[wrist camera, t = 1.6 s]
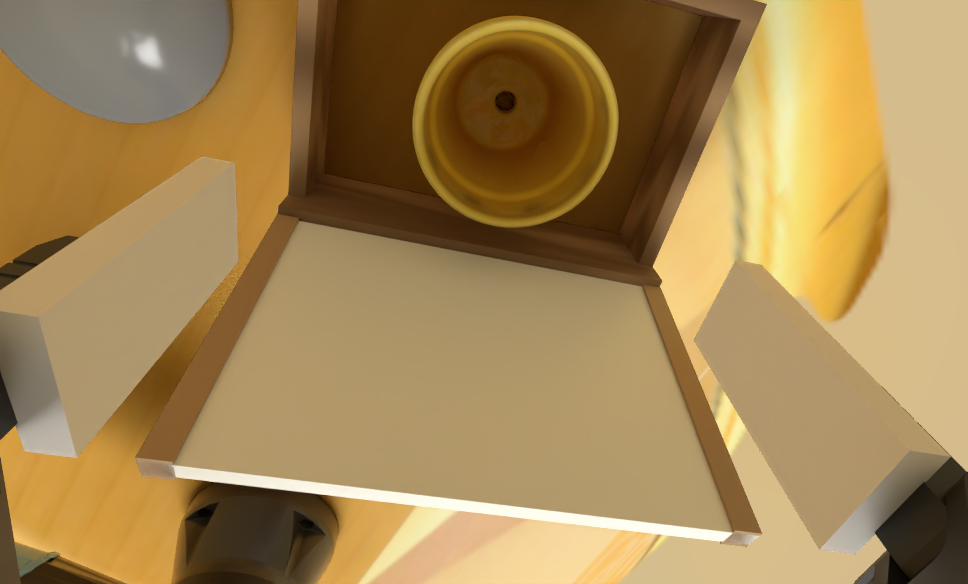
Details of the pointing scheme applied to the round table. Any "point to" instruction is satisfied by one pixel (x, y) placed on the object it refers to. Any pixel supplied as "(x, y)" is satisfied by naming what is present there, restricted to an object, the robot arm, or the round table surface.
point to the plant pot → (515, 121)
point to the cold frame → (539, 245)
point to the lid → (451, 390)
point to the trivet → (120, 52)
